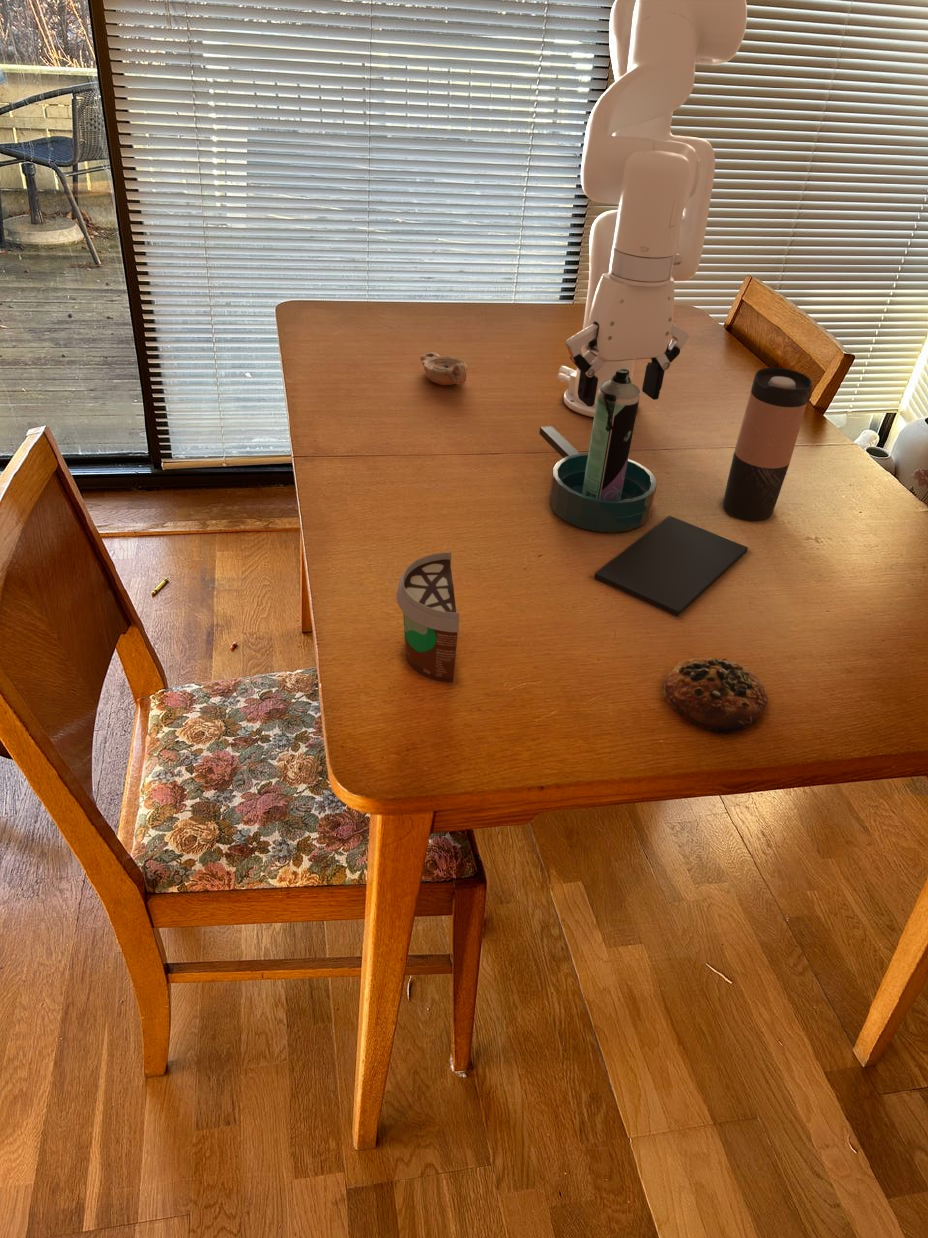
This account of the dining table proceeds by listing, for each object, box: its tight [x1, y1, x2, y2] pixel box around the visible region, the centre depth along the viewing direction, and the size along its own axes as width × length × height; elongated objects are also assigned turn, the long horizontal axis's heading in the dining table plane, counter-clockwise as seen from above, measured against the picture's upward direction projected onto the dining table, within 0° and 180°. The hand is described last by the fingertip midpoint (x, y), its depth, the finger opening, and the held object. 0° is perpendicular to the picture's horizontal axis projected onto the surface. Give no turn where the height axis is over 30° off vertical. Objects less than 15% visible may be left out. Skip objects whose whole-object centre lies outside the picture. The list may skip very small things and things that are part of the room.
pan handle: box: [538, 425, 581, 459], centre depth 140 cm, size 12×2×1 cm, turn 22°
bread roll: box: [662, 657, 769, 735], centre depth 100 cm, size 11×11×5 cm
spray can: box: [582, 369, 641, 500], centre depth 127 cm, size 6×6×20 cm
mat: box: [593, 515, 749, 618], centre depth 122 cm, size 12×20×1 cm, turn 142°
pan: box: [548, 452, 658, 533], centre depth 131 cm, size 14×14×5 cm
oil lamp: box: [419, 352, 468, 386], centre depth 164 cm, size 13×8×5 cm, turn 27°
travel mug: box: [722, 367, 813, 523], centre depth 129 cm, size 8×8×20 cm
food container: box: [395, 552, 460, 683], centre depth 101 cm, size 12×6×10 cm, turn 5°
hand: (618, 398), depth 123 cm, fingers open, 9 cm apart
